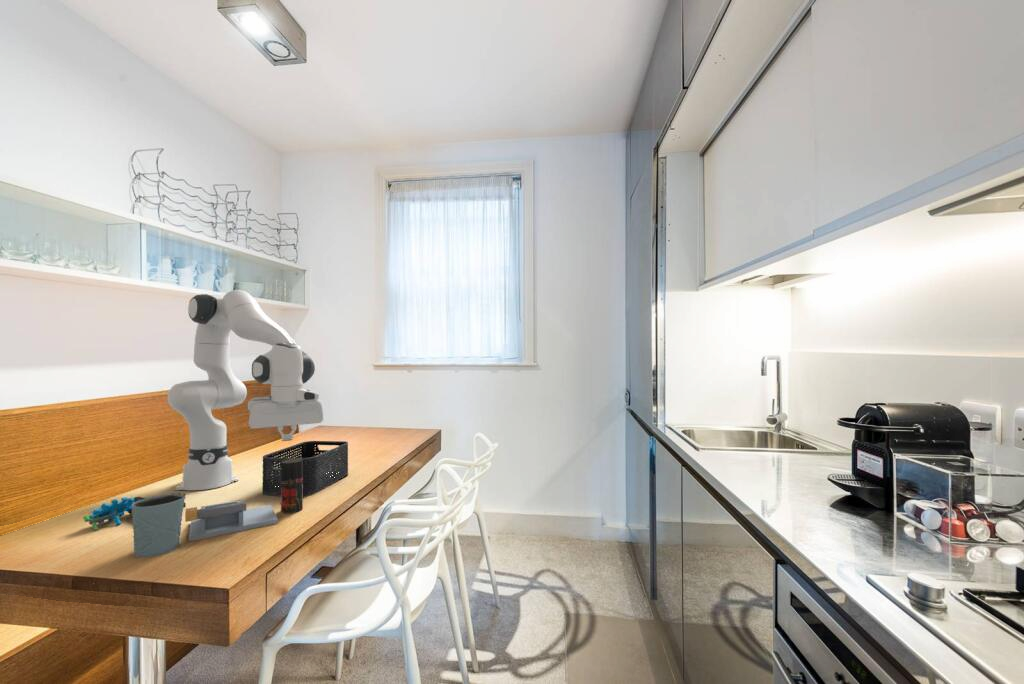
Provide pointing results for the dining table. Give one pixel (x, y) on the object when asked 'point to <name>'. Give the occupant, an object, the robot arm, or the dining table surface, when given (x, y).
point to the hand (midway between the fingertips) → (287, 440)
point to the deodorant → (291, 486)
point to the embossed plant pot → (157, 524)
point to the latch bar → (213, 511)
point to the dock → (231, 521)
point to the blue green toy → (109, 512)
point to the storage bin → (307, 466)
